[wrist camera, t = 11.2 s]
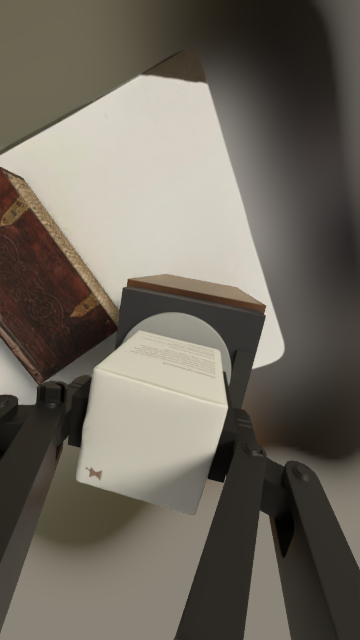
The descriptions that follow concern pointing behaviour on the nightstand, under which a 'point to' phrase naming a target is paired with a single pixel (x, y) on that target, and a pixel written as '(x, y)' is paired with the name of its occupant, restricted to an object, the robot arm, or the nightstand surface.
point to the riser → (198, 290)
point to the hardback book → (45, 287)
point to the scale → (196, 328)
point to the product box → (154, 421)
